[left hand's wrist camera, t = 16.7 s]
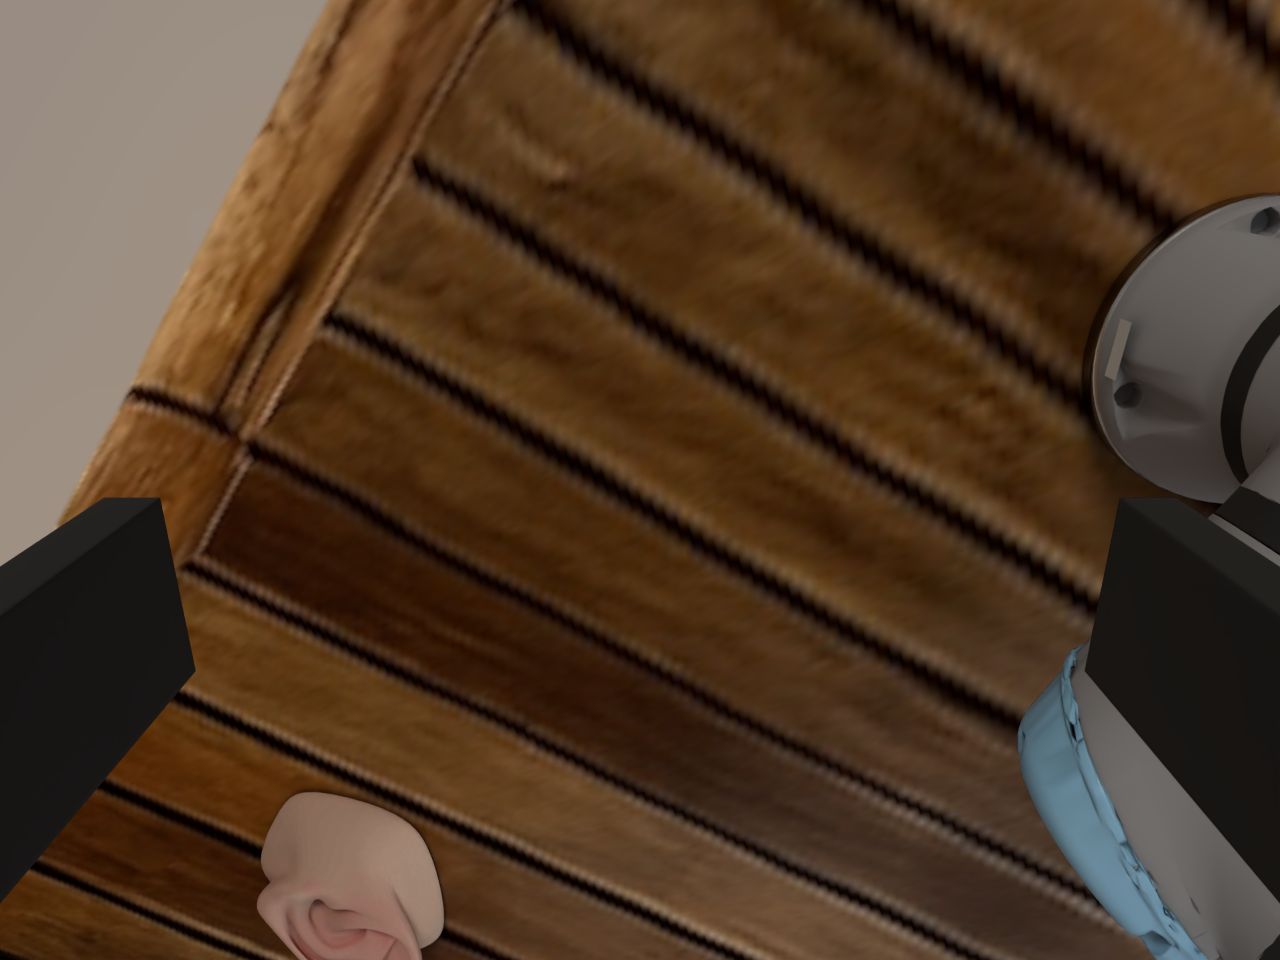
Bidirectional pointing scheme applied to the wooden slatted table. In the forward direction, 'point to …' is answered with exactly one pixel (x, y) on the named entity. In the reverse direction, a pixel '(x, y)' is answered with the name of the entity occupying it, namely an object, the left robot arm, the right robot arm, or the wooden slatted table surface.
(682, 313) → the wooden slatted table surface
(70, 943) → the wooden slatted table surface
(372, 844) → the anatomical model
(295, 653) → the wooden slatted table surface
